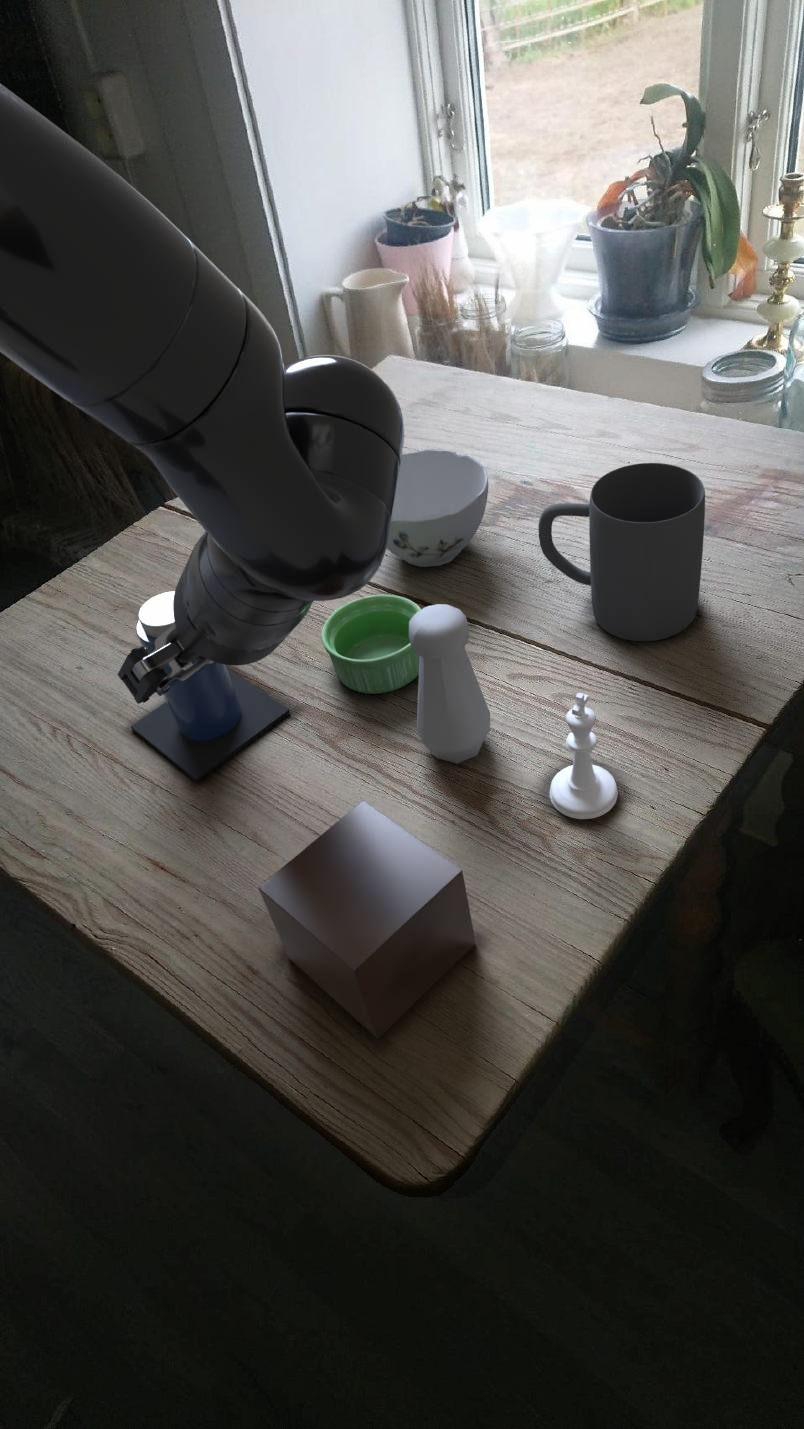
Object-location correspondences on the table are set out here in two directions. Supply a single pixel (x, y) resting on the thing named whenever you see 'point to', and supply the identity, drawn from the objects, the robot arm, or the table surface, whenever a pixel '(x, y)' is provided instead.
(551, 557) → the mug
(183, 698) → the blue cylinder
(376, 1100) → the table surface
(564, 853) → the table surface
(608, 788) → the chess piece
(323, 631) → the ramekin
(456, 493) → the teacup
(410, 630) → the salt shaker
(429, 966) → the cube
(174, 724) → the coaster
